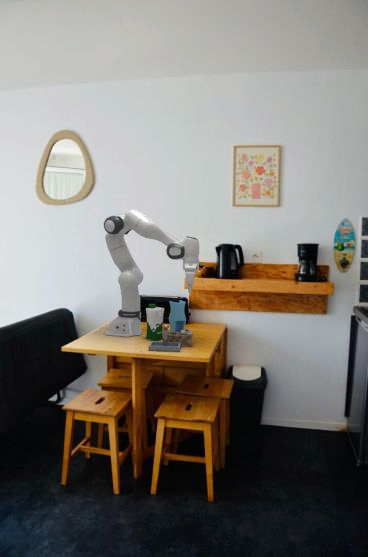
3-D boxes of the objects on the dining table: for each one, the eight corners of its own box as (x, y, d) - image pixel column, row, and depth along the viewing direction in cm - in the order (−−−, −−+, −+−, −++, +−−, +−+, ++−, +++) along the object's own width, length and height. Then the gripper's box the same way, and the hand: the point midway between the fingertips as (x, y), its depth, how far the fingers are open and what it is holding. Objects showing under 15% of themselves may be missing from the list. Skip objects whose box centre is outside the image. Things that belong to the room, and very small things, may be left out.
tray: (148, 350, 212) (148, 346, 212) (151, 345, 222) (151, 341, 222) (179, 352, 211) (179, 347, 211) (180, 346, 221) (180, 342, 221)
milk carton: (152, 336, 243) (153, 302, 241) (165, 338, 238) (166, 304, 236) (143, 339, 236) (144, 304, 234) (156, 341, 231) (157, 306, 229)
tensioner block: (163, 346, 222) (163, 330, 221) (164, 341, 231) (165, 326, 230) (191, 347, 221) (192, 331, 221) (192, 342, 230) (192, 327, 229)
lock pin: (161, 348, 215) (161, 325, 214) (162, 346, 218) (162, 324, 217) (168, 348, 215) (168, 325, 214) (168, 346, 218) (169, 324, 217)
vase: (179, 332, 255) (180, 300, 253) (185, 335, 248) (186, 302, 246) (168, 333, 252) (169, 300, 250) (173, 336, 245) (174, 302, 243)
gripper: (186, 264, 236) (185, 288, 237) (184, 267, 216) (183, 293, 217) (197, 265, 236) (196, 289, 237) (196, 267, 215) (195, 294, 217)
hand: (190, 291), depth 227 cm, fingers open, 8 cm apart
